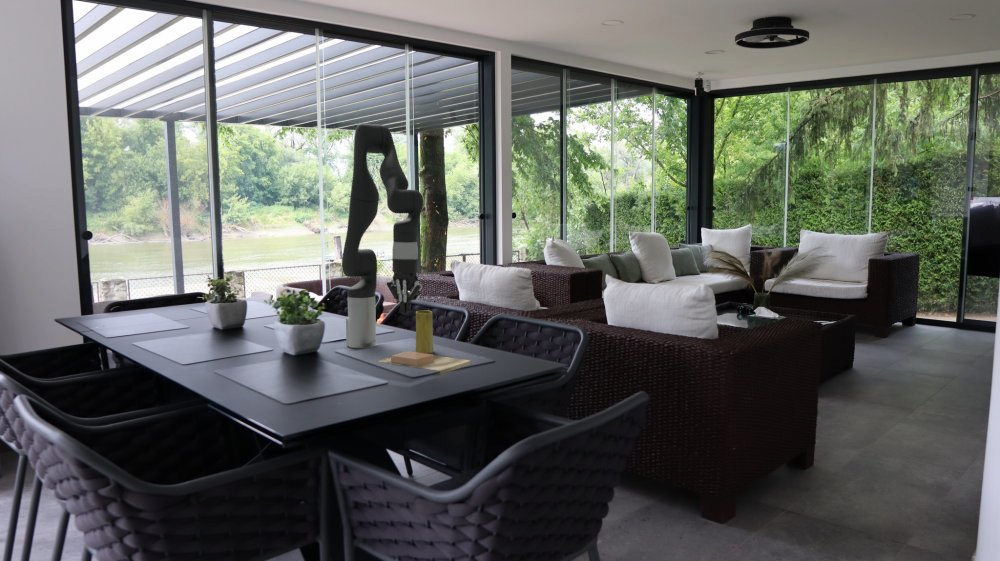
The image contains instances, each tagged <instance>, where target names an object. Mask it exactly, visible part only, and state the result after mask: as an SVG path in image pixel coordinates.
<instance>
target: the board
mask: <svg viewBox="0 0 1000 561" xmlns="http://www.w3.org/2000/svg"><path fill="white" fill-rule="evenodd" d="M375 362H377V363H384V364H385V363H386V364H391V365H395V366H396V365H398V366H404V367H409V368H410V367H411V368H416V369H417V368H418V369H424V370H425V369H426V370H432V371H437V372H433V373H432V374H433V375H439V376H440V375H444V374H447V373H450V372H453V371H456V370H459V369H461V367H462V368H464V366H465V367H467V365H468V366H470V365H472V361H471V359H461V358H456V357H455V358H454V357H447V356H441V355H434V361H432V362H429V363H426V364H423V365H420V366H413V365H406V364H399V363H393V362H391V356H390V357H386V358H383V359H379V360H376V361H375Z"/></svg>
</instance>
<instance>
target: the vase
mask: <svg viewBox="0 0 1000 561" xmlns="http://www.w3.org/2000/svg"><path fill="white" fill-rule="evenodd" d="M433 332H434V331H433V311H431V310H417V311H415V352H418V353H425V354H433V353H434V351H435V350H434V333H433Z"/></svg>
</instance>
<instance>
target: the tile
mask: <svg viewBox="0 0 1000 561" xmlns="http://www.w3.org/2000/svg"><path fill="white" fill-rule="evenodd" d="M434 356H435V355H434V354H433V353H427V354H425V353H418V352H416V351H410V350H406V351H403V352H399V353H396V354H392V355H391V356H390V357H391V362H393V363H399V364H406V365H413V366H420V365H423V364H426V363H429V362H432V361H434Z"/></svg>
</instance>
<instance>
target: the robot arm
mask: <svg viewBox="0 0 1000 561" xmlns="http://www.w3.org/2000/svg"><path fill="white" fill-rule="evenodd" d="M354 132H355V133H354V138H353V167H352V168H353V169H352V181H351V188H350V189H351V190H350V196H349V206H348V208H349V209H348V220H347V221H348V222H347V231H346V236H345V242H344V245H343V252H342V258H341V269H342V272H343V274H344V275H345V277H347V278H358V277H360V279H359V281H358V282H357V283H356V284H354V285H352V286H350V287H348V289H347V318H346V319H345V335H346V336H345V338H346V346H347V347H349V348H351V349H368V348H372V347H376V346H377V333H376V332H377V329H376V328H377V321H376V319H377V318H376V316H377V315H376V292H377V291H376V289H377V283H378V282H377V281H378V280H377V276H378V260H377V254H376V253H375V251H374V250H373V249H370V248H361V249H360V245H361V240H362V238H363V236H364V234H365V233H366V231H367V230H368V228H369V227H370V226H371V225H372V223H373V222H374V220H375V218H376V217H377V214H378V210H379V201H380V200H379V199H380V193H379V190H378V187H377V186H376V183H375V181H374V180H373V178H372V175H371V173H370V171H369V166H368V160H367V157H368V154H381V155H382V156H383V160H382V163H381V164H380V168H379V176H380V179H381V181H382V183H383V185H384V187H385V188H384V189H385V190H386V203H387V204H386V205H387V208H388V210H389V211H390V212H391V213H394V214H407V217H406V218H405V219H404V220H402V221H396V222H395V223H394V224H393V232H392V233H393V236H392V237H393V240H392V241H393V242H392V272H393V276H392V279H391V280H390V281H387V282H386V286H387V288H388V290H389V291H390V293H391V294H392V297H393V299H395V300H398V302H399V311H400V314H401V315H409V314H410V313H411V302H412V301H416V299H417V298H418V297H419V295H420V294H421V292H422V291H423V290H424V288H425V285H424V284H423V283H422V284H421V283H420V282H419V278H418V276H417V274H418V271H419V263H418V262H419V250H418V249H419V248H418V226H419V225H418V224H419V221H420V217H421V214H422V211H423V206H424V197H423V195H422V193H421V192H420V191H419V190H417V189H408V188H409V180H408V178H407V177H406V176H407V175H406V174H405V173H404V171H403V170H404V169H402V167H401V163H400V162H399V158H398V153H397V149H396V145H395V142H394V138H393V135H392V133H391V129H389V128H388V126H386V125H385V124H384V125H383V124H373V123H359V124H357V126H356V128H355V131H354Z"/></svg>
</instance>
